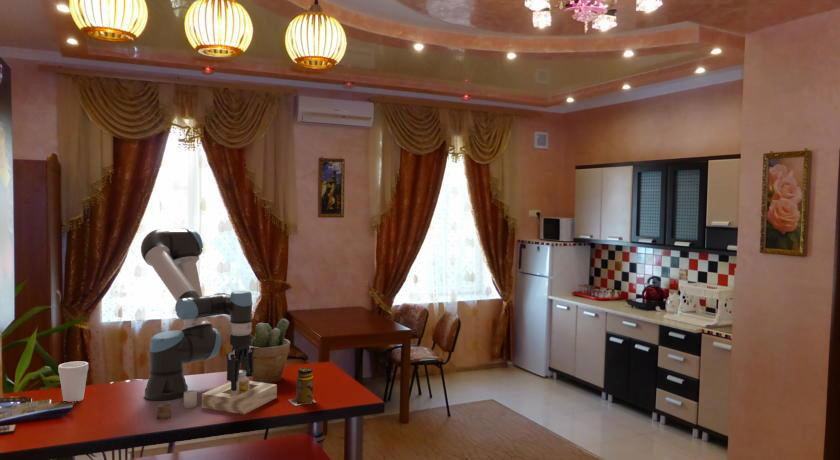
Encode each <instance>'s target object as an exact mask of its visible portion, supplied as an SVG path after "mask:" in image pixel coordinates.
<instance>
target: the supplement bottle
mask: <svg viewBox="0 0 840 460" xmlns="http://www.w3.org/2000/svg"><path fill="white" fill-rule="evenodd" d="M245 375H246V371H245V370H242V369H239V375H238V381H239V394H241V393H244V392H246V391H248V377H247V376H245Z"/></svg>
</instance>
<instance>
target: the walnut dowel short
mask: <svg viewBox="0 0 840 460" xmlns="http://www.w3.org/2000/svg"><path fill="white" fill-rule="evenodd" d="M170 417H172V405H171V404H170V403H161V404H159V405H157V406H156V419H157V420H158V419H165V420H168V418H169V419H171V418H170Z"/></svg>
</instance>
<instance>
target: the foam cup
mask: <svg viewBox="0 0 840 460" xmlns="http://www.w3.org/2000/svg"><path fill="white" fill-rule="evenodd" d="M57 366H58V367H57V368H58V369H57V371H58V372H57V373H58V374H59V381H60V388H61V395H62V400H63V402H64V401H75V402H74V403H77V402H76V401H78V402H81V401H83V400H84V396H85V393H86V392H85V390H86V382H87V377H88V371H89V362H87V361H81V360H80V361H78V360H77V361H69V362H64V363H60V364H59V365H57Z"/></svg>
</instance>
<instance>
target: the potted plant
mask: <svg viewBox="0 0 840 460" xmlns="http://www.w3.org/2000/svg"><path fill="white" fill-rule="evenodd" d="M289 325H290V321H289V320H288V319H286V318H281V319H279V321H277V324H276V327H274V328H273V327H272V326H270V324H269V323H268V322H267V323H264V322H259V323H257V324H256V325H255V328H254V329H255V332H254V336H253V337H252V342H251V344H250V345H249V346H250V347H254V353H253V364H254V372H253V373H251V374H252V376H251V377H252V381H254V382H262V383H269V384H274V383H276V382H279V381H281V380H282V376H283V374H284V370H285V367H286V364H287V359H288V354H289V353H290V348H291V347H290V346H291V341H290V340H289V339H286V337H285V336H286V331H287V330H288V328H289ZM250 370H251V369H250Z"/></svg>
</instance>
